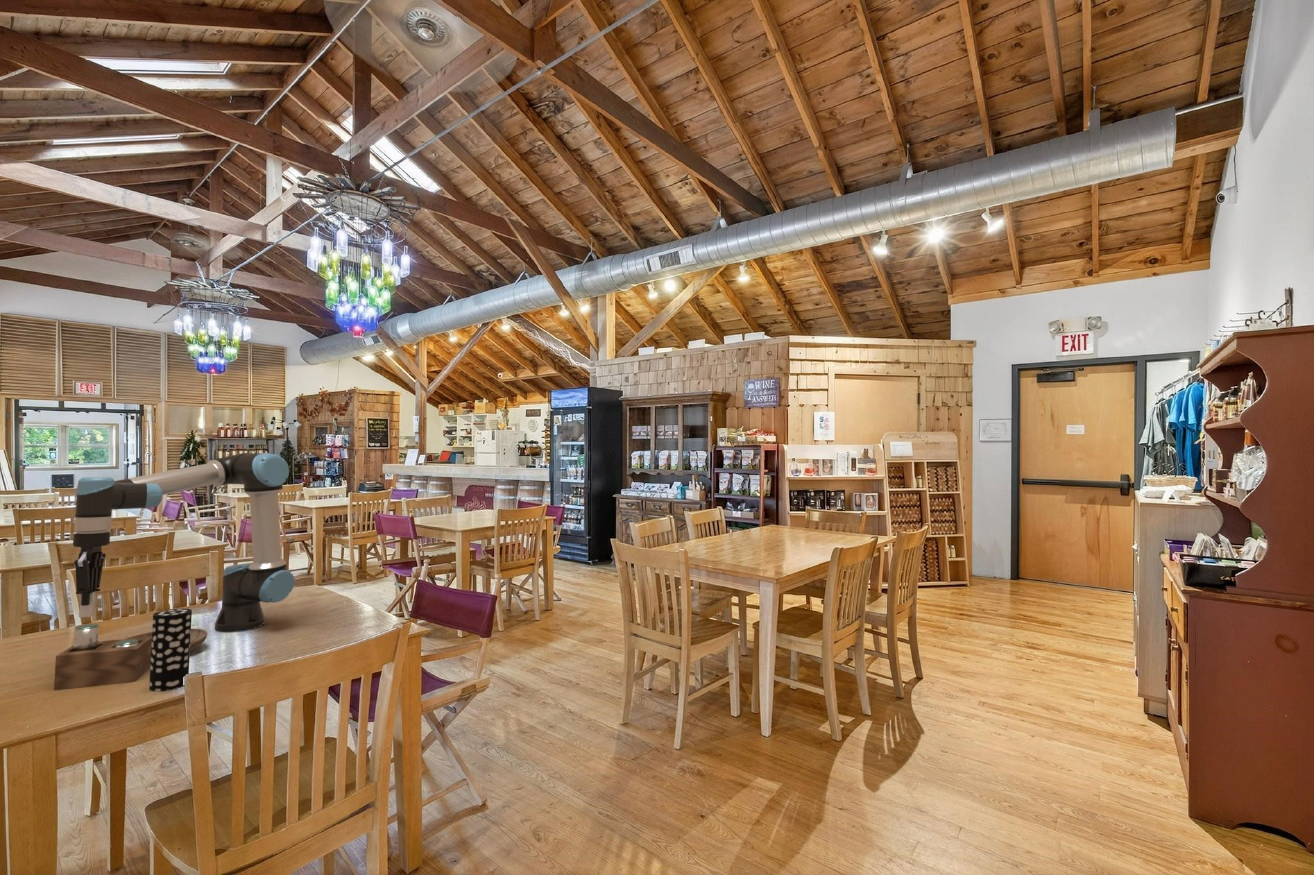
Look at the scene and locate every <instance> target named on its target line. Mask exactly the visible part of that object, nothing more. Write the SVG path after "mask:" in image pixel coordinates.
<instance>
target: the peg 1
mask: <svg viewBox="0 0 1314 875" xmlns="http://www.w3.org/2000/svg"><path fill="white" fill-rule="evenodd" d="M99 627H100V624H99V623H88V624H80V625H77V626H75V627H74V640H73V642H74V643H73V645H74V651H86V650H95V649H96V648H98V641H99V629H100V628H99Z"/></svg>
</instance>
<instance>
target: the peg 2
mask: <svg viewBox="0 0 1314 875" xmlns="http://www.w3.org/2000/svg"><path fill="white" fill-rule="evenodd" d="M137 645H138V640H124V641H120V642H117V643H116V648H120V647H131V646H137Z"/></svg>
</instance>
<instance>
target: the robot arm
mask: <svg viewBox="0 0 1314 875" xmlns="http://www.w3.org/2000/svg"><path fill="white" fill-rule="evenodd" d="M289 474H290V468H289V464H288V462H287V461H286V460H285V459H284V458H283V457H282V456H280V455H279V454H275V453H270V452H269V453H268V452H257V453H255V452H241V453H237V454H236V453H235V454H232V455H228V456H224V457H223V456H222V457H220V458H215V459H210V460H209V461H207V463H204V464H198V465H194V466H187V467H183V468H178V469H171V470H168V471H167V470H166V471H161V472H156V473H155V472H154V473H150V474H145V475H139V476H135V477H134V476H133V477H129V478H126V479H120V480H114V477H109V476H108V477H107V476H100V477H99V476H95V477H94V476H93V477H92V476H85V477H81V478H79V480H78V482H77V485H76V492H75V495H76V496H75V497H76V498H75V499H76V500H75V515H74V520H73V521H72V523H73V524H74V526H73V527H74V530H73V531H74V532H75V533H74V534H73V537H72V539H73V540H72V541H73V542H72V546H73V547H74V548H80V552H79V553H78V557H77V559H74V568H75V584H76V586H75V587H76V592H75V594H76V595H80V596H79V597H80V598H79V612H78V618H91V617H93V616H94V615H95V608H96V606H95V603H96V602H95V601H96V592H100V590H101V588H100V586H101V579H102V574H103V568H104V563H105V558H106V553H103V549H102V547H104V546H108V545H110V543H111V532H110V530H111V528H112V516H113V515H112V513H113V510H115V511H117V510H134V509H144V510H146V509H151V508H156V507H158V506H160V504H161V503H162V500H163V496H165V495H170V494H175V493H180V492H184V491H188V490H193V489H198V488H202V487H207V486H211V485H212V486H215V487H220V486H225V485H243V492H244V493H245V495H247V496H248V497H249V506H250V526H251V527H250V529H251V545H252V547H251V548H252V549H251V550H252V562H246V563H241V564H233V565H229V566H226V567H225V568H224V570H223V575H222V595H221V609H220V611H219V613H218V615H217V618H216V621H215V622H214V631H217V632H221V633H223V632H224V633H232V632H241V631H242V632H243V631H248V630H253V628H254V629H256V628H255V627H257V628H259V627H258V626H260V625H262V624H263V623H264V622H265V621H266V618H265V614H264V612H263V609H262V605H261V602H262V603H267V604H270V603H274V604H275V603H279V602H281V601H284V599H286V598H287V597H288V596H289V594H290V593H291V592H292V591H293V590H294V587H295V581H296V580H295V579H296V578H295V576H294V574H293V573H292V572H290V570H288V569H287V561H286V560H285V559H283V558H282V548H281V546H282V545H281V528H280V507H279V493H280V492H282V490H283V484H285V482H287V479H288V478H289ZM265 623H266V622H265ZM265 623H264V624H265ZM262 626H263V625H262ZM260 627H261V626H260Z"/></svg>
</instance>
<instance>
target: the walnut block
mask: <svg viewBox="0 0 1314 875" xmlns="http://www.w3.org/2000/svg"><path fill="white" fill-rule="evenodd" d="M124 640H138V645H137V646H131V647H120V648H116V643H117V642H120V641H124ZM151 645H152V637H145V638H133V639H126V638H123V639H112V640H101V641H99V640H98V648H96V649H95V650H86V651H74V644H73V645H72V646H71V647H68V648H67V649H65V650H64V651H62V652H60V653H58V654H57V655H55V665H54V667H55V668H54V682H53V683H54V684H53V691H59V690H69V689H76V688H77V689H78V688H87V687H96V686H105V685H113V684H114V685H115V684H123V683H133V682H136V681H137V680H138V679H139V678H141V676H143V675H144V674H145V673H146V672H147V671H148V670H150V663H151Z"/></svg>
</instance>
